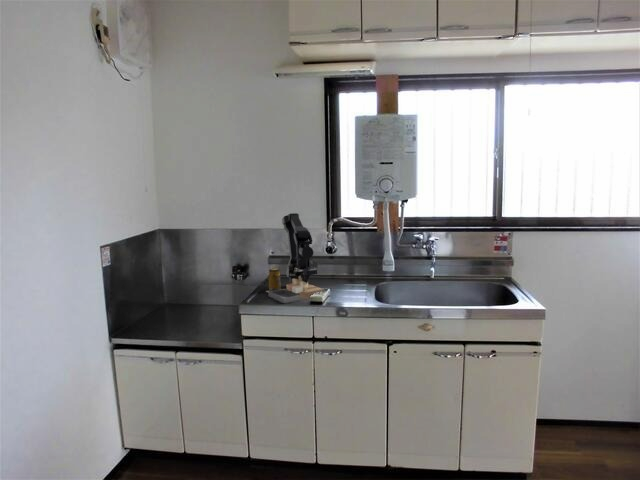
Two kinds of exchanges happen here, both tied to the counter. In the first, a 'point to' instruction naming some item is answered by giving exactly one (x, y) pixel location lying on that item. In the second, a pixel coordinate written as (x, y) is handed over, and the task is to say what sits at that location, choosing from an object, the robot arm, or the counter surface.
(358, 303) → the counter surface
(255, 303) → the counter surface
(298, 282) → the t-shaped wooden block
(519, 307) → the counter surface
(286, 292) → the tray
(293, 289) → the tile cream
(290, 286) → the tile terracotta
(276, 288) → the condiment
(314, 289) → the plate
